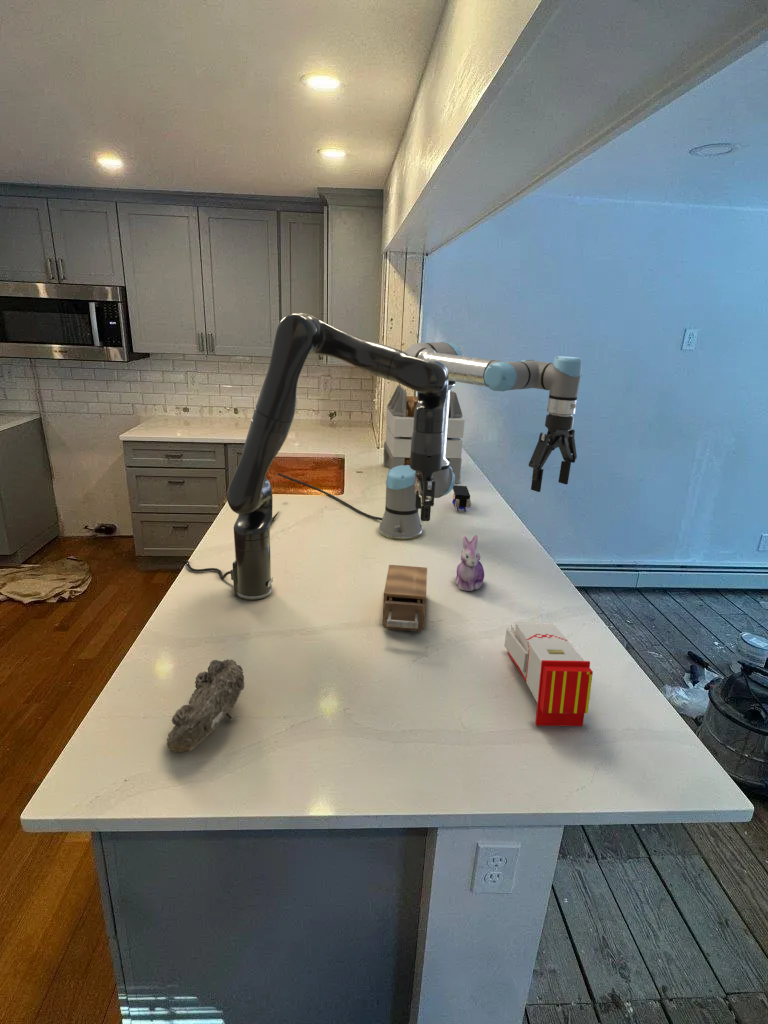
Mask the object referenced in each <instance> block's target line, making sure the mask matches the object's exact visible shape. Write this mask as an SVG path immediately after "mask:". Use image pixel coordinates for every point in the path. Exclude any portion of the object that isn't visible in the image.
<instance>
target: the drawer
mask: <svg viewBox="0 0 768 1024" xmlns="http://www.w3.org/2000/svg"><path fill="white" fill-rule="evenodd" d="M422 616H423V604H421V603H420V599H413V598H401V597H389V601H385V614H384V625H383V629H387V630H388V629H389V630H390V629H391V630H400V631H410V632H411V631H412V632H413V631H414V632H422V629H423V628H422Z"/></svg>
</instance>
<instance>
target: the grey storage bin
mask: <svg viewBox="0 0 768 1024" xmlns="http://www.w3.org/2000/svg"><path fill="white" fill-rule="evenodd" d="M407 394H408V393H407V390H406V389H404V388H403V387H402V385H401V384H400V385H399V384H398V385H397V386H396V388H395V390H394V392H393V394H392V395H391V398H390V400H389V402H388V404H387V405H386V413H385V414H386V415H385V423H386V428H385V438H384V442H383V466H384V467H388V468H389V470H390V469H392V468H394V467H397V466H401V465H404V466H406V465H410V454H411V439H412V434H413V423H414V412H415V408H416V405H417V398H418V395H417V396H415V395H414V396H413V395H412V396H411V395H407ZM464 429H465V419H464V418H463V411H462V408H461V405H460V402H459V398H458V395H457V392H455V391H453V390H452V389H451V390H450V403H449V416H448V430H447V443H446V459H447V460H448V461H449V466H450V467H451V468H452V470H453V471H452V472H453V473H454V475H455V482H454V484H455V483H456V484H459V483H461V472H462V461H463V460H462V453H463V442H464V441H463V440H462V439H463V438H464V431H465V430H464Z"/></svg>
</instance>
